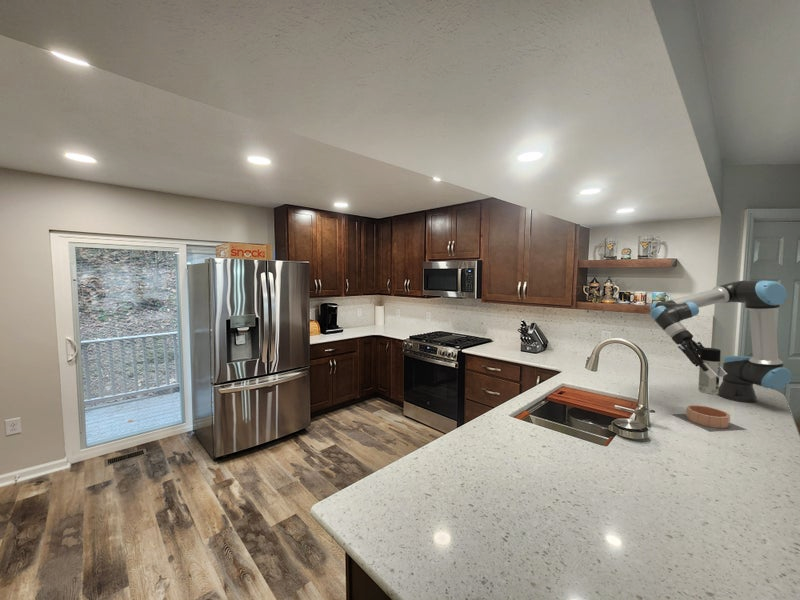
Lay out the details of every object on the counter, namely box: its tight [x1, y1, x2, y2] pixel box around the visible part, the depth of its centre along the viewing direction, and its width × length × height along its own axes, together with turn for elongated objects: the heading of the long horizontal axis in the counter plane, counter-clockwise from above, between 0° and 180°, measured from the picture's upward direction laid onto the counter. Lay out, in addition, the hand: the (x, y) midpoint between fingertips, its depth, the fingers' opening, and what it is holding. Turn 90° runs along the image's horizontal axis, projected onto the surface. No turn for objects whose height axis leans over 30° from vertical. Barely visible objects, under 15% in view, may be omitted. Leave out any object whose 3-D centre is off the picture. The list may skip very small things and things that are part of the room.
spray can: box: [697, 347, 722, 396], centre depth 148 cm, size 7×7×20 cm
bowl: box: [685, 404, 731, 429], centre depth 149 cm, size 14×14×5 cm
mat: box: [670, 413, 748, 432], centre depth 149 cm, size 18×18×1 cm
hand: (719, 376), depth 145 cm, fingers closed on spray can, 7 cm apart
